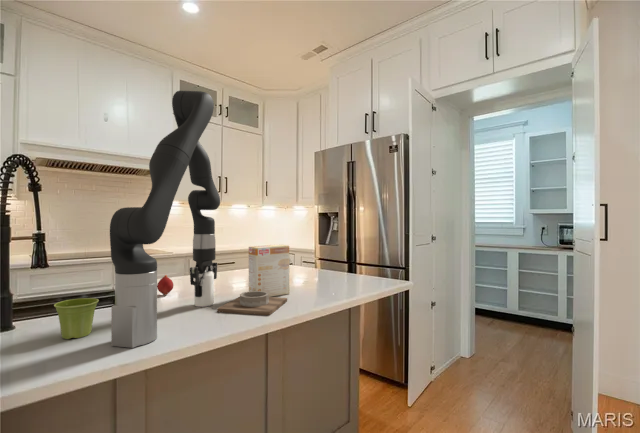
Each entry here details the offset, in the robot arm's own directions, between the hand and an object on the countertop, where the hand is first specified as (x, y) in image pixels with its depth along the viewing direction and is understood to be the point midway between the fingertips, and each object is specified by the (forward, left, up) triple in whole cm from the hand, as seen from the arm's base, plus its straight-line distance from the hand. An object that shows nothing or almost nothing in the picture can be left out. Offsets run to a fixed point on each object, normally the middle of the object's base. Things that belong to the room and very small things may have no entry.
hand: (204, 294), depth 116 cm
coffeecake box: (+19, -17, -4) cm, 26 cm away
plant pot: (-34, +16, -4) cm, 38 cm away
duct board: (+2, -18, -4) cm, 18 cm away
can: (0, 0, -4) cm, 4 cm away
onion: (+10, +23, -4) cm, 25 cm away
